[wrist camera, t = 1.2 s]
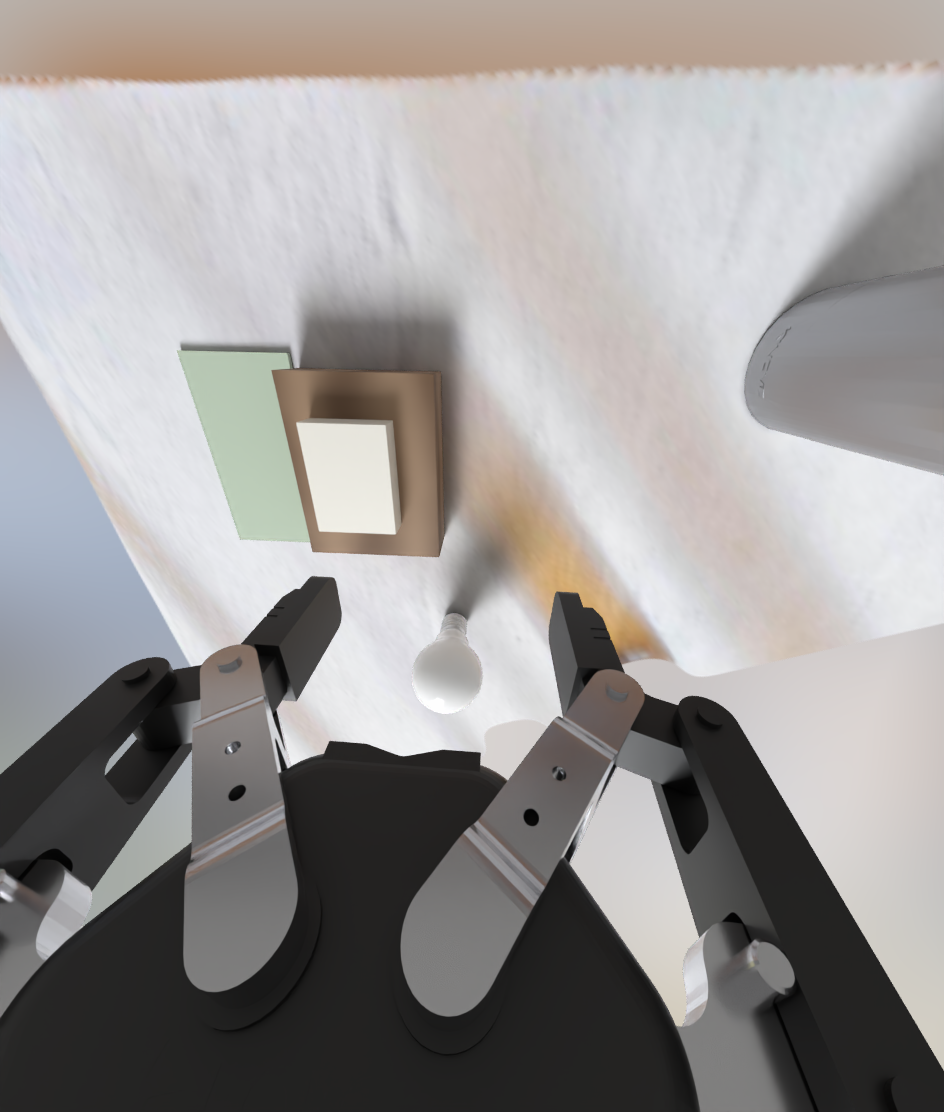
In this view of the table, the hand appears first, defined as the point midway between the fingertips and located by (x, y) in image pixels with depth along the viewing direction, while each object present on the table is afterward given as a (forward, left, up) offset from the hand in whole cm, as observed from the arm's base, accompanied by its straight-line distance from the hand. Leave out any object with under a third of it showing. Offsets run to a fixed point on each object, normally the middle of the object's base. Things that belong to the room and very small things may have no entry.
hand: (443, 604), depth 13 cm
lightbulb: (+1, +17, -20) cm, 26 cm away
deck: (+8, 0, -20) cm, 21 cm away
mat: (+18, 0, -20) cm, 27 cm away
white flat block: (+8, 0, -16) cm, 18 cm away
